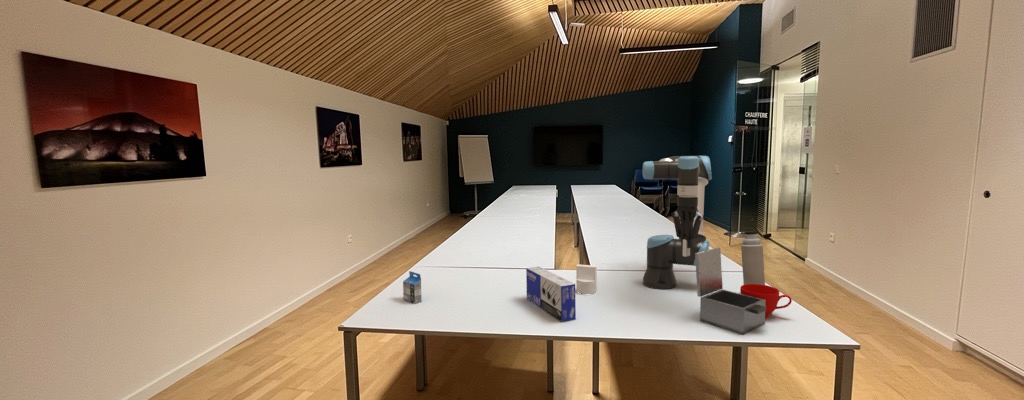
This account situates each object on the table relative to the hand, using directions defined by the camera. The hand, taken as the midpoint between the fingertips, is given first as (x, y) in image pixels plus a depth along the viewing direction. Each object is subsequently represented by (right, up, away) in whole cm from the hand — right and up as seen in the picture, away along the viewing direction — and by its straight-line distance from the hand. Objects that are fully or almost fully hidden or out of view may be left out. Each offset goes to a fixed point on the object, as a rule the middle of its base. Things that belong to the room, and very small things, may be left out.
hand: (686, 255), depth 176 cm
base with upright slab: (-35, -20, +26) cm, 48 cm away
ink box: (-53, -23, +6) cm, 58 cm away
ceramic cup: (+27, -22, -6) cm, 36 cm away
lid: (+6, -5, -8) cm, 11 cm away
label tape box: (-112, -22, +19) cm, 116 cm away
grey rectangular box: (+12, -23, -14) cm, 29 cm away
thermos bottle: (+33, -19, +11) cm, 40 cm away
